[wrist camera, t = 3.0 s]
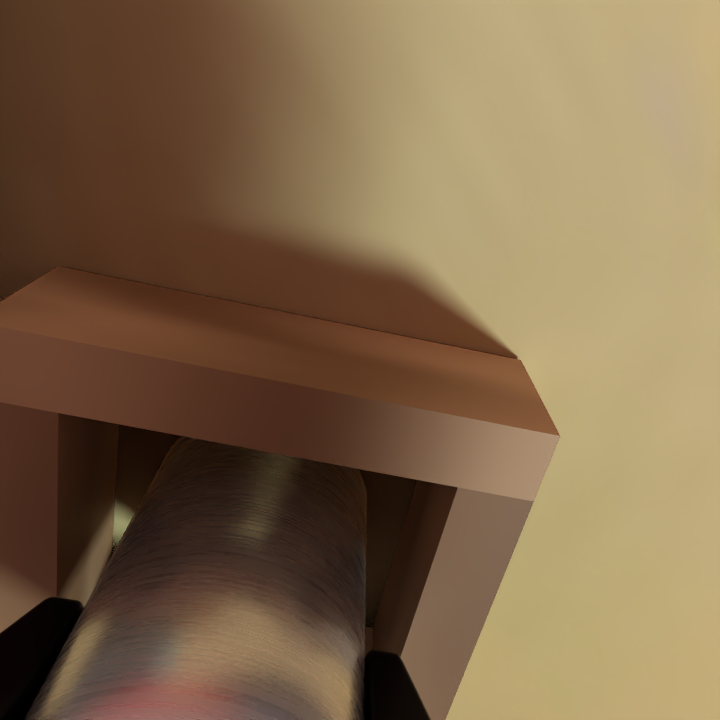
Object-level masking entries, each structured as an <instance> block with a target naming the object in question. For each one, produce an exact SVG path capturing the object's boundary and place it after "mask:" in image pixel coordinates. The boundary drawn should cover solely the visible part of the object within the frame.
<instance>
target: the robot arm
mask: <svg viewBox="0 0 720 720" xmlns="http://www.w3.org/2000/svg"><path fill="white" fill-rule="evenodd" d="M83 609H84V607H83V604H82V603H81V602H80V601H78V600H73V599H67V598H61V597H49V598H47V599H45V600H43V601H42V602H41V603H39V604H38V605H37V606H35V607H34V608H33V609H31V610H30V611H29V612H27V613H26V614H25V615H23V616H22V617H21V618H19V619H18V620H17V621H15V622H14V623H13V624H11V625H10V626H9V627H7V628H6V629H5V630H3V631H2V632H1V633H0V720H24V718H25V716H26V715H27V713H28V711H29V709H30V707H31V705H32V703H33V702H34V700H35V698H36V696H37V694H38V692H39V690H40V689H41V687H42V685H43V683H44V681H45V679H46V677H47V676H48V674H49V672H50V670H51V668H52V666H53V664H54V663H55V661H56V659H57V657H58V655H59V653H60V651H61V650H62V648H63V646H64V644H65V642H66V640H67V638H68V637H69V635H70V633H71V631H72V629H73V627H74V625H75V624H76V622H77V620H78V618H79V616H80V614H81V612H82V611H83ZM364 720H431V718H430V716H429V714H428V712H427V710H426V708H425V706H424V704H423V702H422V700H421V698H420V696H419V694H418V692H417V689H416V687H415V685H414V683H413V681H412V679H411V677H410V675H409V673H408V671H407V669H406V667H405V665H404V663H403V661H402V659H401V657H400V656H399V655H397V654H395V653H391V652H385V651H379V650H370V651H368V653H367V654H366V656H365V686H364Z"/></svg>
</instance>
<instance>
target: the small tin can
mask: <svg viewBox="0 0 720 720" xmlns="http://www.w3.org/2000/svg"><path fill="white" fill-rule="evenodd" d="M366 519H367V495H366V488H365V483H364V480H363V477H362V474H361V472H360V469H357V468H351V467H346V466H340V465H335V464H330V463H324V462H319V461H314V460H308V459H303V458H297V457H292V456H287V455H281V454H276V453H271V452H265V451H260V450H254V449H249V448H244V447H238V446H233V445H228V444H222V443H217V442H212V441H206V440H201V439H195V438H190V437H185V436H180V437H179V438H178V439H177V440H176V441H175V443H174V444H173V445H172V447H171V448H170V449H169V451H168V453H167V455H166V456H165V458H164V460H163V462H162V464H161V466H160V467H159V469H158V471H157V473H156V475H155V477H154V479H153V480H152V482H151V484H150V486H149V488H148V490H147V492H146V493H145V495H144V497H143V499H142V501H141V503H140V505H139V506H138V508H137V510H136V512H135V514H134V516H133V518H132V519H131V521H130V523H129V525H128V527H127V529H126V531H125V532H124V534H123V536H122V538H121V540H120V542H119V544H118V545H117V547H116V549H115V551H114V553H113V555H112V557H111V558H110V560H109V562H108V564H107V566H106V568H105V570H104V571H103V573H102V575H101V577H100V579H99V581H98V583H97V585H96V586H95V588H94V590H93V592H92V594H91V596H90V598H89V599H88V601H87V603H86V605H85V607H84V609H83V611H82V612H81V614H80V616H79V618H78V620H77V622H76V624H75V625H74V627H73V629H72V631H71V633H70V635H69V637H68V638H67V640H66V642H65V644H64V646H63V648H62V650H61V651H60V653H59V655H58V657H57V659H56V661H55V663H54V664H53V666H52V668H51V670H50V672H49V674H48V676H47V677H46V679H45V681H44V683H43V685H42V687H41V689H40V690H39V692H38V694H37V696H36V698H35V700H34V702H33V703H32V705H31V707H30V709H29V711H28V713H27V715H26V716H25V718H24V720H364V686H365V603H366Z"/></svg>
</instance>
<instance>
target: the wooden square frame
mask: <svg viewBox="0 0 720 720" xmlns="http://www.w3.org/2000/svg"><path fill="white" fill-rule="evenodd" d="M119 424H120V425H126V426H131V427H136V428H142V429H147V430H152V431H158V432H163V433H169V434H174V435H179V436H185V437H190V438H195V439H201V440H206V441H212V442H217V443H222V444H228V445H233V446H238V447H244V448H249V449H254V450H260V451H265V452H271V453H276V454H281V455H287V456H292V457H297V458H303V459H308V460H314V461H319V462H324V463H330V464H335V465H340V466H346V467H351V468H357V469H362V470H367V471H373V472H378V473H383V474H389V475H394V476H399V477H405V478H410V479H416V480H417V483H416V486H415V490H414V493H413V496H412V500H411V503H410V506H409V509H408V513H407V516H406V519H405V523H404V526H403V529H402V533H401V536H400V539H399V542H398V546H397V549H396V552H395V556H394V559H393V562H392V566H391V569H390V572H389V575H388V579H387V582H386V585H385V589H384V592H383V595H382V599H381V602H380V605H379V608H378V612H377V615H376V618H375V622H374V625H373V628H372V627H366V626H365V656H366V654H367V653H368V651H370V650H379V651H385V652H391V653H395V654H397V655H399V656H400V657H401V659H402V661H403V663H404V665H405V667H406V669H407V671H408V673H409V675H410V677H411V679H412V681H413V683H414V685H415V687H416V689H417V692H418V694H419V696H420V698H421V700H422V702H423V704H424V706H425V708H426V710H427V712H428V714H429V716H430V718H431V720H445V719H446V717H447V714H448V712H449V709H450V707H451V704H452V702H453V699H454V697H455V694H456V692H457V689H458V687H459V684H460V682H461V680H462V677H463V675H464V672H465V670H466V667H467V665H468V662H469V660H470V657H471V655H472V652H473V650H474V647H475V645H476V643H477V640H478V638H479V635H480V633H481V630H482V628H483V625H484V623H485V620H486V618H487V615H488V613H489V610H490V608H491V606H492V603H493V601H494V598H495V596H496V593H497V591H498V588H499V586H500V583H501V581H502V578H503V576H504V573H505V571H506V569H507V566H508V564H509V561H510V559H511V556H512V554H513V551H514V549H515V546H516V544H517V541H518V539H519V536H520V534H521V532H522V529H523V527H524V524H525V522H526V519H527V517H528V514H529V512H530V509H531V507H532V504H533V502H534V499H535V497H536V495H537V492H538V490H539V487H540V485H541V482H542V480H543V477H544V475H545V472H546V470H547V467H548V465H549V462H550V460H551V457H552V455H553V453H554V450H555V448H556V445H557V443H558V440H559V438H560V435H559V433H558V431H557V429H556V427H555V425H554V423H553V421H552V419H551V417H550V415H549V413H548V412H547V410H546V408H545V406H544V404H543V402H542V400H541V398H540V396H539V394H538V392H537V390H536V388H535V387H534V385H533V383H532V381H531V379H530V377H529V375H528V373H527V371H526V369H525V367H524V365H523V363H522V361H521V360H518V359H513V358H508V357H503V356H498V355H493V354H488V353H483V352H479V351H474V350H469V349H464V348H459V347H454V346H449V345H444V344H439V343H434V342H429V341H424V340H419V339H414V338H410V337H405V336H400V335H395V334H390V333H385V332H380V331H375V330H370V329H365V328H360V327H355V326H350V325H346V324H341V323H336V322H331V321H326V320H321V319H316V318H311V317H306V316H301V315H296V314H291V313H286V312H281V311H277V310H272V309H267V308H262V307H257V306H252V305H247V304H242V303H237V302H232V301H227V300H222V299H217V298H212V297H208V296H203V295H198V294H193V293H188V292H183V291H178V290H173V289H168V288H163V287H158V286H153V285H148V284H143V283H139V282H134V281H129V280H124V279H119V278H114V277H109V276H104V275H99V274H94V273H89V272H84V271H79V270H74V269H70V268H65V267H60V266H57V267H56V268H54V269H53V270H51V271H49V272H48V273H46V274H44V275H43V276H41V277H40V278H38V279H36V280H35V281H33V282H32V283H30V284H28V285H27V286H25V287H23V288H22V289H20V290H19V291H17V292H15V293H14V294H12V295H11V296H9V297H7V298H6V299H4V300H2V301H1V302H0V633H1V632H2V631H3V630H5V629H6V628H7V627H9V626H10V625H11V624H13V623H14V622H15V621H17V620H18V619H19V618H21V617H22V616H23V615H25V614H26V613H27V612H29V611H30V610H31V609H33V608H34V607H35V606H37V605H38V604H39V603H41V602H42V601H43V600H45V599H47V598H49V597H61V598H67V599H73V600H78V601H80V602H81V603H82V604H83V607H85V605H86V603H87V601H88V599H89V598H90V596H91V594H92V592H93V590H94V588H95V586H96V585H97V583H98V581H99V579H100V577H101V575H102V573H103V571H104V570H105V568H106V566H107V564H108V562H109V560H110V558H111V557H112V539H113V521H114V504H115V486H116V469H117V451H118V433H119Z"/></svg>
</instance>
